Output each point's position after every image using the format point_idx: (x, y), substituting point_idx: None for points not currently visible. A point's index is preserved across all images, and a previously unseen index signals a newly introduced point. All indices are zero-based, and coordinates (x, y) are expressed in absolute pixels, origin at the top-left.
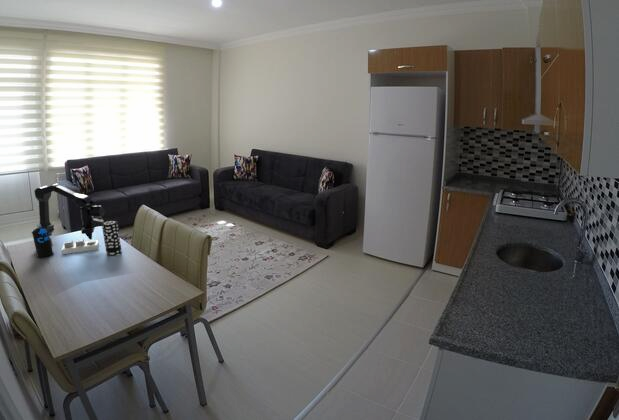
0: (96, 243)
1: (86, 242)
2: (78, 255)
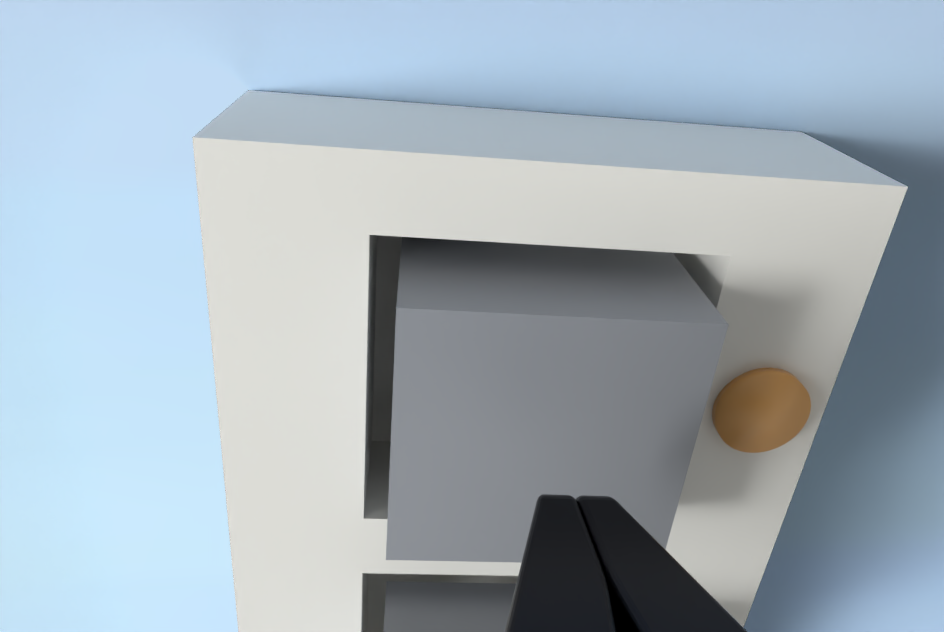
0: (702, 214)
1: (347, 542)
2: (920, 570)
